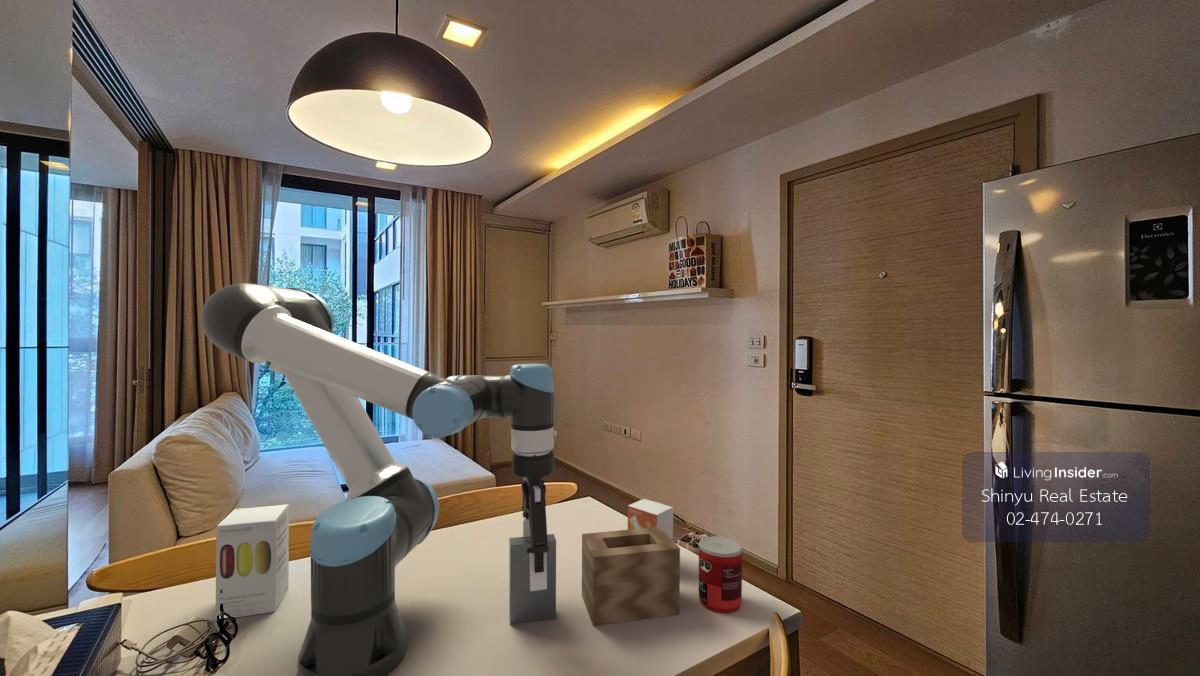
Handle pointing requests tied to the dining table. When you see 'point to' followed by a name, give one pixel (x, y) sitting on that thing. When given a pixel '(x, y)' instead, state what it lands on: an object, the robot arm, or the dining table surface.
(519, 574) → the grey slab
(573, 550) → the dining table surface
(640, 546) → the wooden planter box
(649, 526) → the small box
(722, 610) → the canned food
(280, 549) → the supplement box
